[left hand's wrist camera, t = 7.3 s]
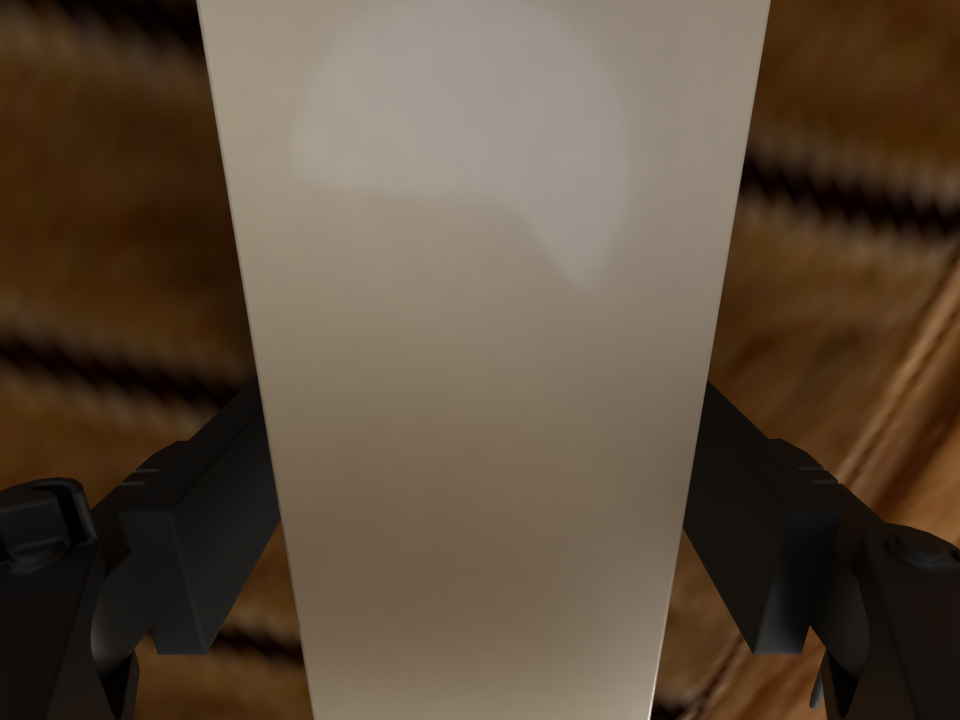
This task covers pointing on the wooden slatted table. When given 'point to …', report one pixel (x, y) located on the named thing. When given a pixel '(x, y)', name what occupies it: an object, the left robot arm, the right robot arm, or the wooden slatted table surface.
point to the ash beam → (482, 328)
